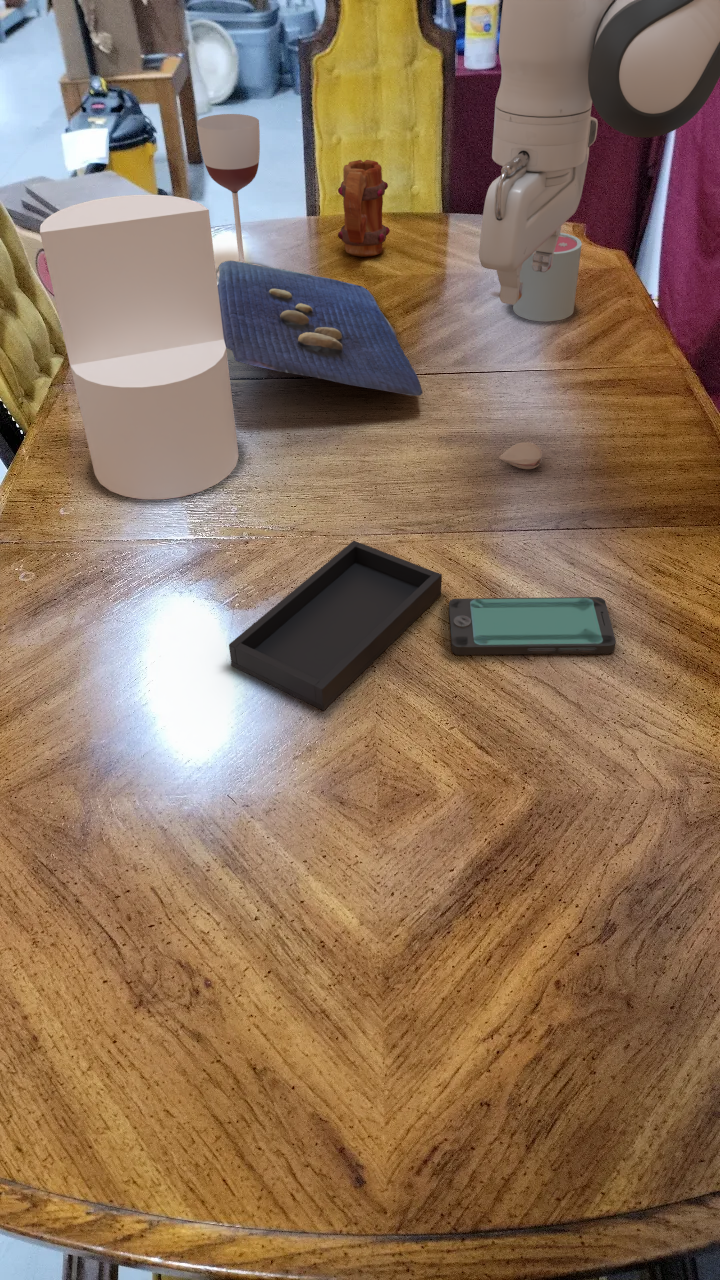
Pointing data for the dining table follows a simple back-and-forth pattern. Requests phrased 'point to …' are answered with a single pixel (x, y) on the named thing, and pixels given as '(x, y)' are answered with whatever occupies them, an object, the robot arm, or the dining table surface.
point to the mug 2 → (551, 284)
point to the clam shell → (523, 455)
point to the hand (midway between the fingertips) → (526, 285)
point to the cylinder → (145, 341)
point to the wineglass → (231, 156)
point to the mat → (311, 328)
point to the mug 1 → (363, 208)
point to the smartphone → (530, 626)
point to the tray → (335, 623)
